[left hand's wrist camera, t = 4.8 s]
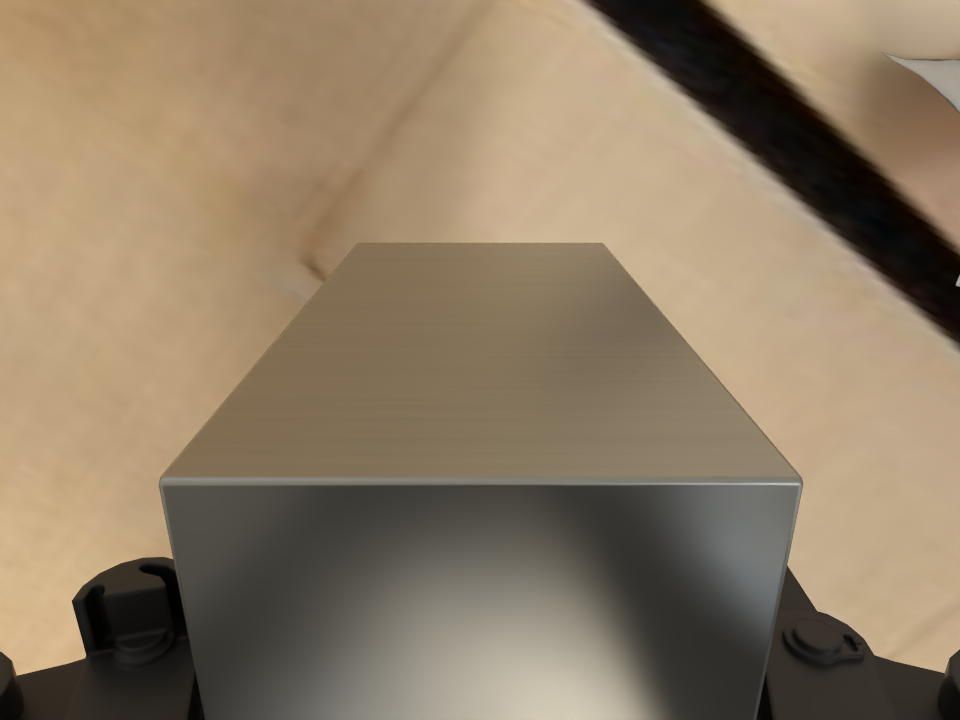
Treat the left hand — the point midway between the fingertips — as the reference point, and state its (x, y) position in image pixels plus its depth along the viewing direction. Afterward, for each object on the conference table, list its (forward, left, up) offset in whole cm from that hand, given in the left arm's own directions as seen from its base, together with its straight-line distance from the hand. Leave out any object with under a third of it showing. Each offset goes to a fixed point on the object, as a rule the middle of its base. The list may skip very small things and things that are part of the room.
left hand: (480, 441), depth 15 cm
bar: (+2, +8, -1) cm, 8 cm away
